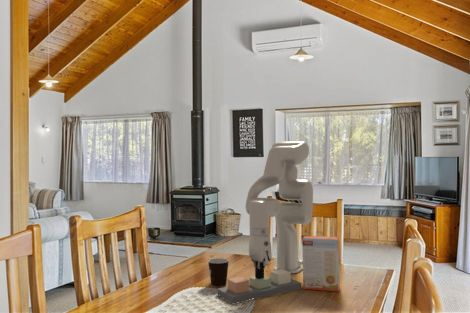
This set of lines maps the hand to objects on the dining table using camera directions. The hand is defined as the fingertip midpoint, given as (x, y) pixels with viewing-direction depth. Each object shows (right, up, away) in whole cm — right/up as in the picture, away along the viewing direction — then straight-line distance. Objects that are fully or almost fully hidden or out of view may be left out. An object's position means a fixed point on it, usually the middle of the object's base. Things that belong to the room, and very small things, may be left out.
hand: (259, 277), depth 172 cm
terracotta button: (-8, -4, -5) cm, 11 cm away
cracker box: (+25, -6, +3) cm, 26 cm away
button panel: (0, -6, 0) cm, 6 cm away
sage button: (0, -5, 0) cm, 5 cm away
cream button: (+9, -4, +5) cm, 11 cm away
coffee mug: (-16, -6, +13) cm, 22 cm away
